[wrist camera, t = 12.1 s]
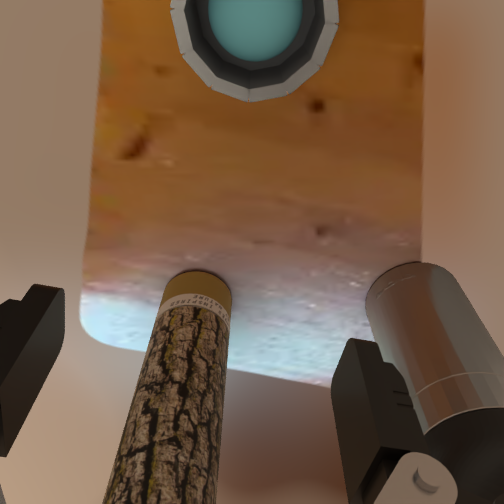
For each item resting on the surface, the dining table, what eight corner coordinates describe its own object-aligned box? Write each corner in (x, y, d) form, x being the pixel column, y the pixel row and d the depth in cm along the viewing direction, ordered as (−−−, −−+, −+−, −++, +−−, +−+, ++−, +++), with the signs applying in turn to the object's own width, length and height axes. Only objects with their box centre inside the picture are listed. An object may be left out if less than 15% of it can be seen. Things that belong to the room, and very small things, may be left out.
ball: (317, 13, 33) (326, 21, 28) (251, 71, 35) (248, 89, 30) (261, -67, 31) (261, -73, 26) (194, 1, 33) (181, 8, 28)
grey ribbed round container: (363, 16, 34) (386, 28, 28) (247, 114, 38) (245, 145, 32) (266, -132, 30) (268, -157, 24) (146, -4, 34) (120, 4, 28)
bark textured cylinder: (158, 269, 46) (71, 536, 25) (228, 265, 46) (201, 532, 24) (170, 324, 50) (103, 598, 28) (235, 320, 49) (217, 595, 28)
